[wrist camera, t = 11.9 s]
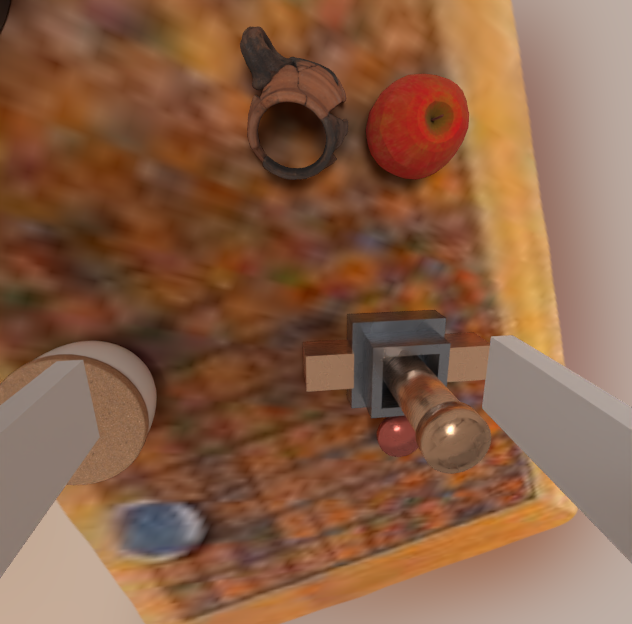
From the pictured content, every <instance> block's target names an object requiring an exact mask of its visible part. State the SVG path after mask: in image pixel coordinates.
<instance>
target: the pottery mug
mask: <svg viewBox="0 0 632 624" xmlns="http://www.w3.org/2000/svg"><path fill="white" fill-rule="evenodd" d="M240 48H241V52H242V55H243V57H244V59H245V61H246V64H247V66H248V67H249V69H250V71H251V73H252V76H253V82H252V86H253V87H254V88H255V89H256V90H261V89H263V88H264V89H263V91H262V95H261V96H260V97H258V96H257V95H254V97H253V99H252V103H251V106H250V110H249V114H248V134H247V136H248V140H249V144H250V147H251V148H252V150H253V151H254V153H255V154H256V155H257V157H258V158H259V159H260V160H261V161H262V162H263V167H264V168H265V169H266V170H268V171H269V172H271V173H272V174H275V175H277V176H279V177H281V178H285V179H291V180H296V179H307V178H309V177H312V176H315V175H316V174H318V173H319V172H321V171H322V170H323V169H325V168H327V167H328V166H330V165H331V164H333V163H334V162H335V161H336V160H337V158H336V157H335V156H334V155H333V152H334V150H335V149H337V148H338V147H339V146H340V145H341V144H342V142H343V139H344V137H345V136H346V135H347V133H348V121H347V119H343V120H341V119H340V118H337V117H335V116H333V115H332V114H330V113H329V112H330V111H331V110H332V109H334V108H335V107H336V106H337V105H338V104H340V103H341V102H345V101H346V95H345V91H344V89H343V87H342V85H341V83H340V81H339V79H338V78H337V77H336V75H335V74H334V73H333V72H332V71H331V70H330V69H328V68H326V67H324V66H322V65H320V64H318V63H315V62H311V61H308V60H305V59H301V58H295V57H290V58H289V59H288V58H285V57H283V56H281V55H280V54H279V53H278V52H277V51H276V50H275V48H274V47H273V45H272V43H271V41H270V39H269V38H268V36H267V35H266V33H265V32H264V30H263V29H262V28H261V27H248V28H247V29H246V30H245V31H244V33H243V36H242V40H241V43H240ZM281 102H294V103H298V104H301V105H303V106H306V107H307V108H308V109H310V110H311V111H313V112H314V113H315V114H316V116H317V117H318V118H319V119H320V120H321V121H322V124H323V126H324V129H325V133H326V145H325V149H324V152H323V154H322V156H321V157H320V158H319V159H318V160H317V161H316V162H315V163H314V164H312V165H310V166H308V167H305V168H288V167H285V166H282V165H280V164H278V163H276V162H275V161H273V160H272V159H271V158H270V157H268V156H267V155H266V154H265V153H264V150H263V148H262V147H261V146H260V141H259V136H258V126H259V122H260V119H261V117H262V115H263V114H264V113H265V112H266V110H267V109H268V108H269V107H271V106H273V105H275V104H278V103H281Z"/></svg>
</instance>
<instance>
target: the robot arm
mask: <svg viewBox="0 0 632 624" xmlns="http://www.w3.org/2000/svg"><path fill="white" fill-rule="evenodd" d="M9 3H10V0H0V29H1V28H2V25H3V23H4V21H5V18H6V15H7V12H8V8H9ZM482 409H483V410H484V411H485V412H486V413H487V414H488V415H489V416H490V417H491V418H492V419H493V420H494V421H495V422H496V423H497V424H498V425H499V426H500V427H501V428H502V429H503V430H504V432H505V433H506V434H507V435H508V436H509V437H510V438H511V439H512V440H513V441H514V442H515V443H516V444H517V445H518V446H519V447H520V448H521V449H522V450H523V451H524V452H525V453H526V454H527V455H528V456H529V457H530V458H531V459H532V461H533V462H534V463H535V464H536V465H537V466H538V467H539V468H540V469H541V470H542V471H543V472H544V473H545V474H546V475H547V476H548V477H549V478H550V479H551V480H552V481H553V482H554V483H555V484H556V485H557V486H558V487H559V488H560V490H561V491H562V492H563V493H564V494H565V495H566V496H567V497H568V498H569V499H570V500H571V501H572V502H573V503H574V504H575V505H576V506H577V507H578V508H579V509H580V510H581V511H582V512H583V513H584V514H585V515H586V516H587V517H588V519H589V520H590V521H591V522H592V523H593V524H594V525H595V526H596V527H597V528H598V529H599V530H600V531H601V532H602V533H603V534H604V535H605V536H606V537H607V538H608V539H609V540H610V541H611V542H612V543H613V544H614V545H615V546H616V547H617V549H618V550H620V552H621V553H622V554H623V555H624V556H625V557H626V558H627V559H628V560H629V561H630V562H631V563H632V407H631V406H629V405H628V404H626V403H624V402H623V401H621V400H619V399H618V398H616V397H614V396H613V395H611V394H609V393H608V392H606V391H604V390H603V389H601V388H599V387H598V386H596V385H594V384H593V383H591V382H589V381H588V380H586V379H584V378H583V377H581V376H579V375H578V374H576V373H574V372H573V371H571V370H569V369H568V368H566V367H564V366H563V365H561V364H559V363H558V362H556V361H554V360H553V359H551V358H549V357H548V356H546V355H544V354H543V353H541V352H539V351H538V350H536V349H534V348H533V347H531V346H529V345H528V344H526V343H524V342H523V341H521V340H519V339H518V338H516V337H514V336H513V335H511V336H493V337H491V341H490V349H489V357H488V365H487V373H486V381H485V389H484V396H483V404H482ZM99 437H100V436H99V431H98V426H97V422H96V417H95V412H94V408H93V403H92V399H91V394H90V389H89V385H88V380H87V375H86V371H85V366H84V361H83V360H70V361H56V362H55V363H54V364H52V365H51V366H50V367H49V368H47V369H46V370H45V371H44V372H42V373H41V374H40V375H38V376H37V377H36V378H35V379H33V380H32V381H31V382H30V383H28V384H27V385H26V386H24V387H23V388H22V389H21V390H19V391H18V392H17V393H16V394H14V395H13V396H12V397H10V398H9V399H8V400H7V401H5V402H4V403H3V404H2V405H0V578H1V576H2V575H3V573H4V572H5V571H6V569H7V568H8V567H9V565H10V564H11V562H12V561H13V559H14V558H15V557H16V555H17V554H18V552H19V551H20V549H21V548H22V547H23V545H24V544H25V542H26V541H27V540H28V538H29V537H30V535H31V534H32V532H33V531H34V530H35V528H36V527H37V525H38V524H39V523H40V521H41V520H42V518H43V517H44V515H45V514H46V513H47V511H48V510H49V508H50V507H51V505H52V504H53V503H54V501H55V500H56V498H57V497H58V496H59V494H60V493H61V491H62V490H63V488H64V487H65V486H66V484H67V483H68V481H69V480H70V479H71V477H72V476H73V474H74V473H75V471H76V470H77V469H78V467H79V466H80V464H81V463H82V462H83V460H84V459H85V457H86V456H87V454H88V453H89V452H90V450H91V449H92V447H93V446H94V444H95V443H96V442H97V440H98V439H99Z"/></svg>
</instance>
